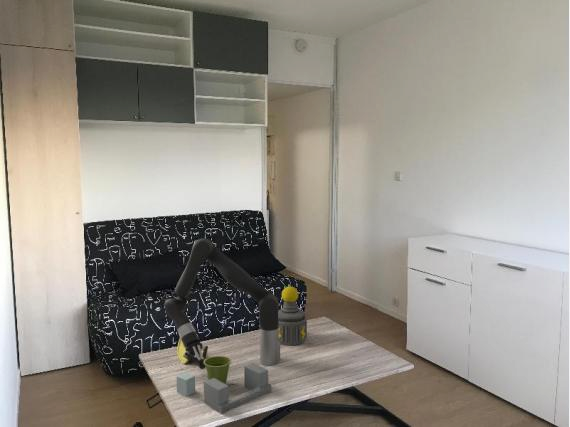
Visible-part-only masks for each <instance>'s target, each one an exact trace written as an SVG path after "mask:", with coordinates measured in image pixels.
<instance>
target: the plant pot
mask: <svg viewBox="0 0 570 427" xmlns="http://www.w3.org/2000/svg"><path fill="white" fill-rule="evenodd" d="M231 362H232V359H231V358H229V357H228V356H226V355H225V356H224V355H215V356H213V355H212V356H209V357H207V358H205V359H204V364H205V366H206V367H205V370H206V374H207V380H210V379H212V378H215V379H217V380H219V381H220V382H222V383H224V384H226V385H227V380H228V374H229V369H230V364H231Z"/></svg>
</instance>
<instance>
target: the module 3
mask: <svg viewBox="0 0 570 427" xmlns="http://www.w3.org/2000/svg"><path fill="white" fill-rule="evenodd" d="M243 368H244V369H243V372H244V375H243V376H244V378H243V380H244V387H245V388H247V389H249V390H253V389H255V388H257V387H261V386H263V385H266V384H269V369H267V368H265V367H263V366H260V365H258V364H256V363H254V362H252V363H249V364H247V365H244V367H243Z"/></svg>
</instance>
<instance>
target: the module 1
mask: <svg viewBox="0 0 570 427" xmlns="http://www.w3.org/2000/svg"><path fill="white" fill-rule="evenodd" d="M175 378H176V393H178V394H181V395H183V396H185V397H188V396H189V395H191V394H193V393H195V392H196V375H194V374H191V373H189V372H183V373H181V374H179V375H177V376H176V377H175Z"/></svg>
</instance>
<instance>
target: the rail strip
mask: <svg viewBox="0 0 570 427" xmlns="http://www.w3.org/2000/svg"><path fill="white" fill-rule="evenodd" d="M271 392H272V384H270V383H268V384H266V385H263V386H261V387H257V388H255V389H253V390H251V389H249V390H248V391H246V392H244V393H241V394H239V395H236V396H235V397H232V398H229V401H226V402H224V403H222V404H219V412H218V413H219V414H221V415H223V414H225V413H227V412H230V411H232V410H234V409H236V408H239V407H241V406H243V405H245V404H247V403H250V402H252V401H254V400H256V399H258V398H261V397H263V396H265V395H267V394H269V393H271Z"/></svg>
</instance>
